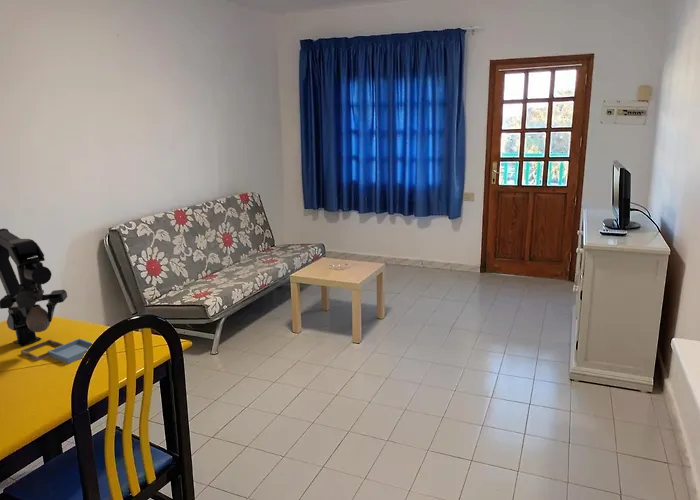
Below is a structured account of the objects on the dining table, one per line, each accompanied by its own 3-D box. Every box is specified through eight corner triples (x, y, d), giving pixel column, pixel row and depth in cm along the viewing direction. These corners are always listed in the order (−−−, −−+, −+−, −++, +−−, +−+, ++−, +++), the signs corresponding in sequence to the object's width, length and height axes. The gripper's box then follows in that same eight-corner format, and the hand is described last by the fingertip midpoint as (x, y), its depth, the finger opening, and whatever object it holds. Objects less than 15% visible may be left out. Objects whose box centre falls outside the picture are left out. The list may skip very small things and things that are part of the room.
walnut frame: (21, 354, 174) (20, 350, 174) (50, 342, 183) (50, 339, 182) (37, 360, 169) (37, 357, 169) (67, 348, 178) (66, 345, 177)
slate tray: (49, 356, 172) (48, 351, 172) (80, 343, 181) (79, 338, 181) (68, 364, 166) (67, 358, 166) (99, 350, 176) (98, 344, 175)
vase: (41, 334, 170) (36, 310, 168) (23, 333, 171) (18, 308, 169) (56, 326, 176) (52, 302, 174) (39, 325, 178) (34, 301, 175)
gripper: (-13, 289, 159) (-3, 336, 164) (53, 283, 164) (62, 328, 168) (1, 278, 170) (11, 322, 174) (63, 273, 174) (71, 316, 178)
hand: (38, 322), depth 173 cm, fingers closed on vase, 7 cm apart
